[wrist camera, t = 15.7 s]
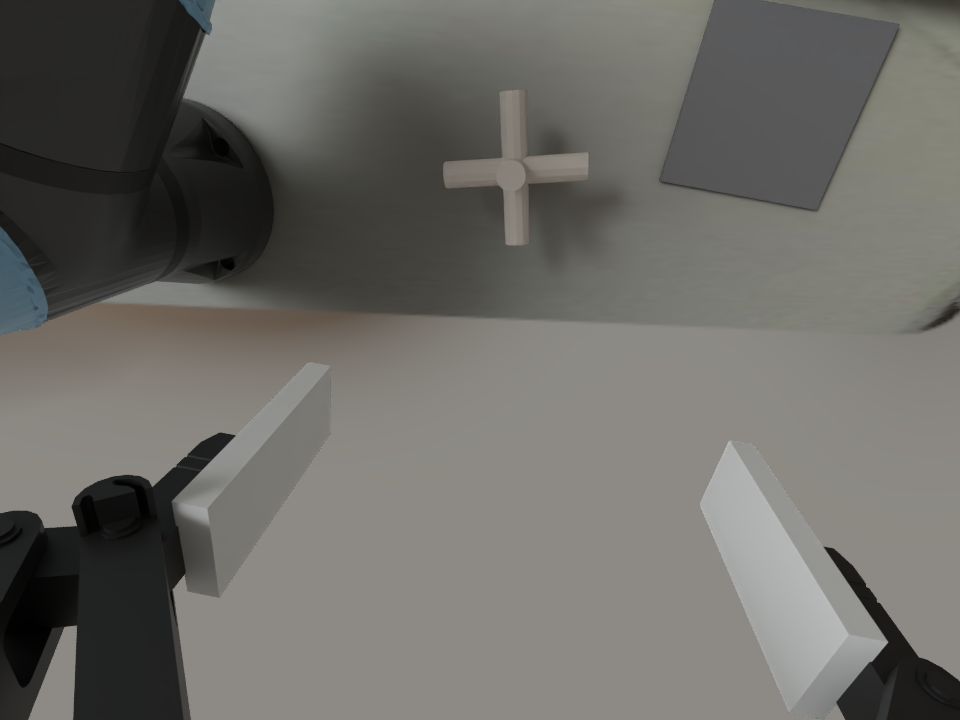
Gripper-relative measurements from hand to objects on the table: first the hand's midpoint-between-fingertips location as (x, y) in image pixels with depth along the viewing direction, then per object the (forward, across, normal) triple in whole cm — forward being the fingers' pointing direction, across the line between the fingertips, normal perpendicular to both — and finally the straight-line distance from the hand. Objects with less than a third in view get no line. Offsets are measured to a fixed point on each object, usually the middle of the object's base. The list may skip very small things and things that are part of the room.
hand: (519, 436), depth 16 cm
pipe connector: (+28, -2, +6) cm, 29 cm away
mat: (+28, +15, +13) cm, 34 cm away
